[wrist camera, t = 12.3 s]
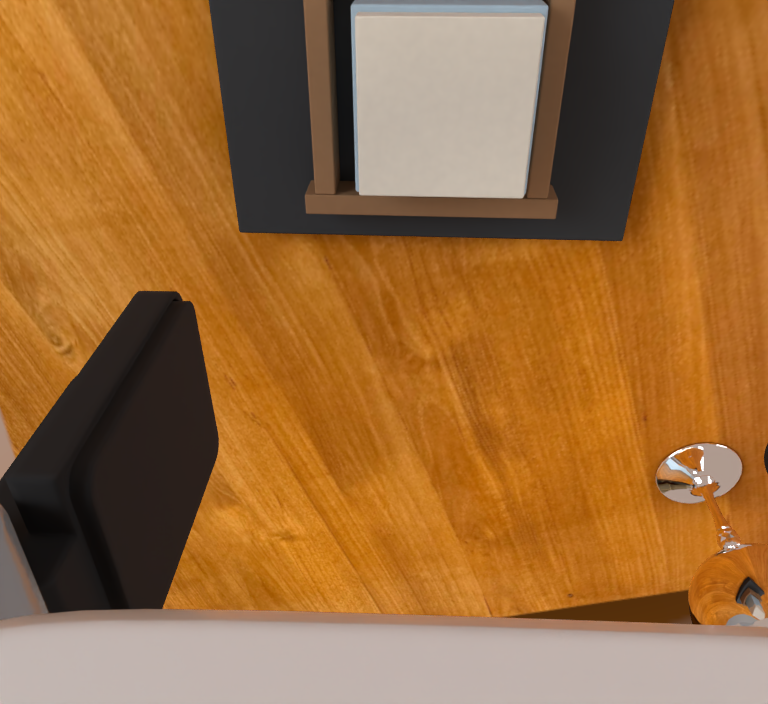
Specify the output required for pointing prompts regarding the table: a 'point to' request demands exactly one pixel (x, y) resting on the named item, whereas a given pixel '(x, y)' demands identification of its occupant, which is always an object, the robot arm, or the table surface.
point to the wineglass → (718, 539)
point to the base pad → (433, 214)
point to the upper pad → (445, 95)
